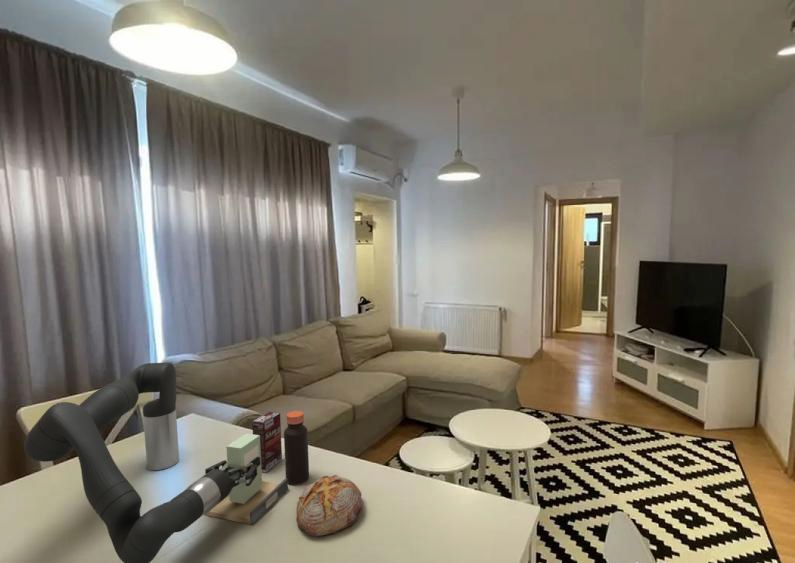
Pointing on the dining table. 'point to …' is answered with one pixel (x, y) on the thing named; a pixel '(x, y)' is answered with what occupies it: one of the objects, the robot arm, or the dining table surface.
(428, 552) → the dining table surface
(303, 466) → the bottle
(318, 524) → the bread
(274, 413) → the supplement box
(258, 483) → the carton
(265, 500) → the tan flat piece
